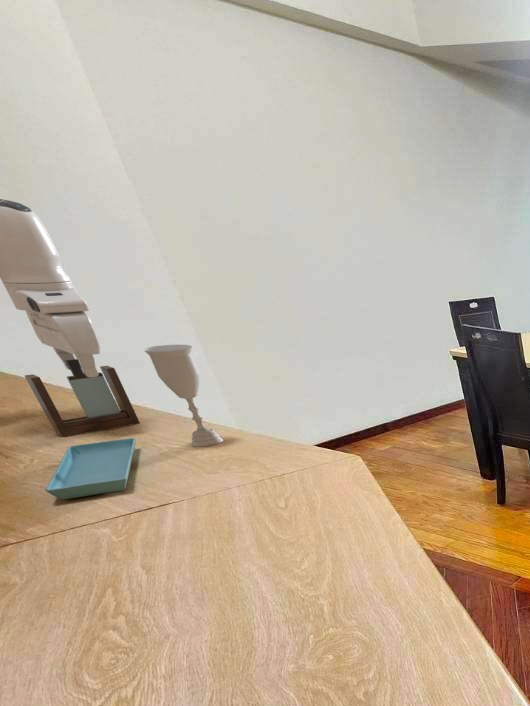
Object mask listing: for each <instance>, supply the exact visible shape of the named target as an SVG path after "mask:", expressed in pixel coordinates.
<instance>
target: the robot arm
mask: <svg viewBox="0 0 530 706" xmlns="http://www.w3.org/2000/svg"><path fill="white" fill-rule="evenodd" d="M50 235H51V234H49V232H48V230H47V228H46V226H45V225H44V223H43V222H42V220H41V219H40V217H39V216H38V215H37V214H36V213H35V212H34V210H32V209H31V208H30V207H29V206H26V205H24V204H22V203H20V202H16V201H13V200H8V199H3V198H0V280H1V282H2V284H3V286H4V288H5V290H6V292H7V294H8V296H9V298H10V299H11V302H12V303H13V305H14V307H15V309H16V310H18V311H25V314H26V315H27V318H28V321H29V323H30V324H31V326H32V329H33V331H34V333H35V335H36V337H37V339H38V340H39V342H40V343H41V344H42V345H46V346H48V347H52V348H53V351H54V352H55V353H56V355H57V356H58V357H59V359H60V360H61V362H62V363H63V365H64V367H65V369H66V370H69V371H71V370H70V368H69V366H68V364H67V362H66V360H73V359H78V361H79V363H80V366H81V367H80V368H81V370H82V372H83V374H84V375H85V376H87V377H97V376H98V375H99V374H98V373H99V372H98V369H97V367H96V363H95V358H94V355H99V354H101V345H100V341H99V339H98V337H97V334H96V331H95V329H94V326H93V323H92V321H91V319H90V317H89V315H88V314H87V313H86V312H89V311H90V309H89V306H88V303H87V301H86V300H85V299H84V298H83V297H82V296H81V295H79V293H78V291H77V289H76V288H75V286H74V283H73V281H72V279H71V277H70V276H69V275H68V274H67V272H66V271H65V270H64V268H63V266H62V263H61V257H60V254H59V251H58V249H57V247H56V245H55V243H54V241H53V239H52V237H51V236H50Z"/></svg>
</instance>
